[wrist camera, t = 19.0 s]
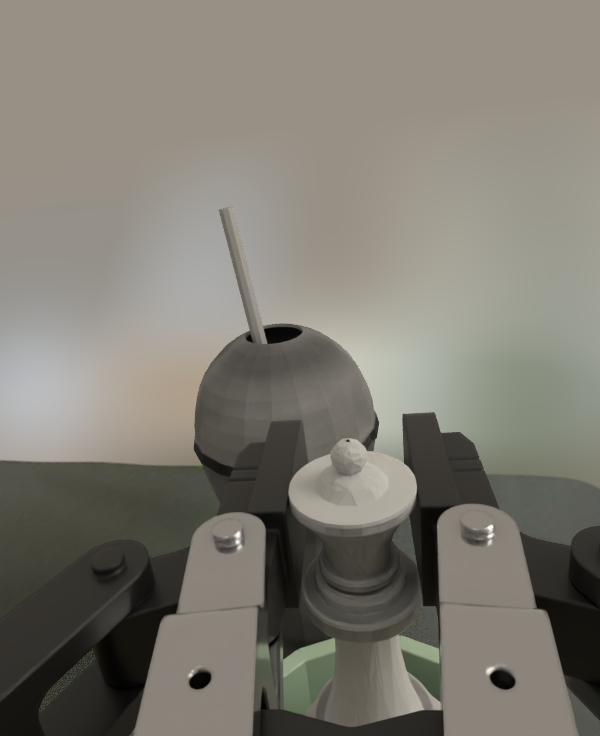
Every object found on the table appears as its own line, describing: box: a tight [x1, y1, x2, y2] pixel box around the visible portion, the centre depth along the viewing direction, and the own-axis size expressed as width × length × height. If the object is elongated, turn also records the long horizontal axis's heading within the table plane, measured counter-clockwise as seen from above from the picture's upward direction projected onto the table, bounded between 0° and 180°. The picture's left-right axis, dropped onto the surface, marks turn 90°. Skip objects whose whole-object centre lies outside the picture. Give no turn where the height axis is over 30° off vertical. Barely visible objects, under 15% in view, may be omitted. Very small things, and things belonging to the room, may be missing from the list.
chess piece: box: [288, 438, 441, 727], centre depth 12 cm, size 4×4×10 cm
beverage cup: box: [194, 207, 379, 660], centre depth 23 cm, size 7×7×20 cm
